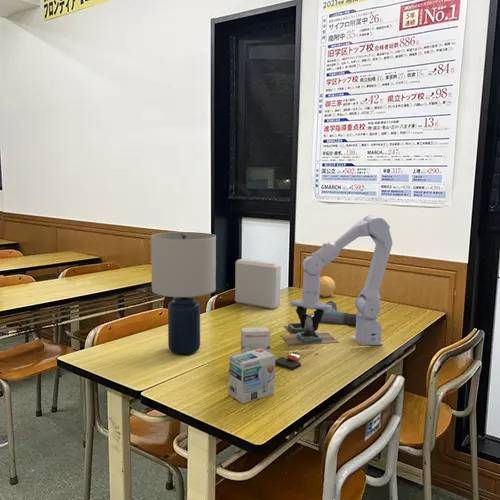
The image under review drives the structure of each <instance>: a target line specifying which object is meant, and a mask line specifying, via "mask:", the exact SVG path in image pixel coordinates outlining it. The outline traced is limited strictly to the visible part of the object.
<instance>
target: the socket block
mask: <svg viewBox="0 0 500 500" xmlns="http://www.w3.org/2000/svg"><path fill="white" fill-rule="evenodd" d="M282 327H283V328H284V329H285V330H286V331H287V332H288V333H289V335H297V333H298V332H304V329H302V327H301V322H291V323H290V322H289V323H288V324H287V325H283V326H282Z"/></svg>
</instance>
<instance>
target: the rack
mask: <svg viewBox="0 0 500 500" xmlns="http://www.w3.org/2000/svg"><path fill="white" fill-rule="evenodd" d="M280 337H281V338H282V339H283V341H285V343H286V344H287V345H288V346H290V347H291V346H305V345H306V346H307V345H320V344H323V345H324V344H337V343H338V344H339V343H340V342H339V341H338V339H336V338H335V337H333V336H332V335H331V334H330V333H329V332H320V333H319V332H316V331H315V336H312V337H308V336H305V335H304V332H298V333H297V334H293V335H291V334H283V335H280Z"/></svg>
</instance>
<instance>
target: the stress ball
mask: <svg viewBox="0 0 500 500" xmlns="http://www.w3.org/2000/svg"><path fill="white" fill-rule="evenodd" d="M335 290H336V282H335V280H334V279H332V278H331V277H330V276H325V275H324V276H320V288H319V296H320V297H323V298H328V297H330V296H332V295H333V293H334V292H335Z"/></svg>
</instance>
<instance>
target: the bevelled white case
mask: <svg viewBox="0 0 500 500" xmlns="http://www.w3.org/2000/svg"><path fill="white" fill-rule="evenodd" d="M281 271H282V267H281V264H280V263H279V262H273V261H264V260H263V261H262V260H258V259H257V260H256V259H250V258H249V259H248V258H247V259H246V258H241V259H237V260H236V261H235V272H234V274H235V279H234V280H235V284H234V286H235V287H234V289H235V290H234V293H235V295H234V301H235V303H236V304H242V305H247V306H252V307H258V308H265V309H268V310H276V309H277V308H279V306H281V304H280V303H281V274H282V273H281Z"/></svg>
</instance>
